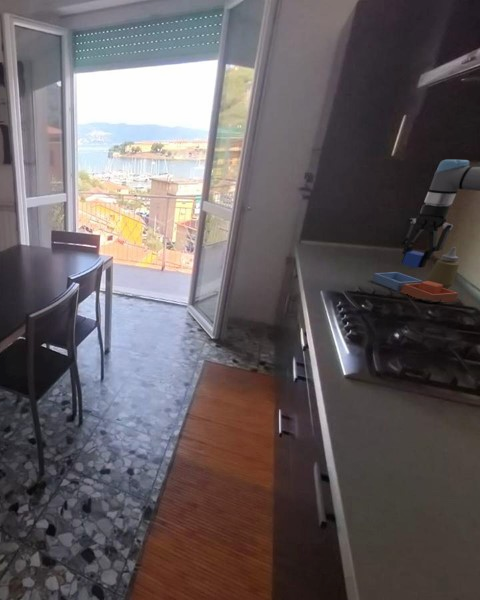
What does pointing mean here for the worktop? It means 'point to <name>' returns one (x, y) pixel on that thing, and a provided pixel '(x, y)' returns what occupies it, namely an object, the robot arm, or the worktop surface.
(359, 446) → the worktop surface
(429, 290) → the terracotta cube
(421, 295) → the terracotta bin
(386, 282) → the blue bin
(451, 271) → the squeeze bottle
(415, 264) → the blue cube
